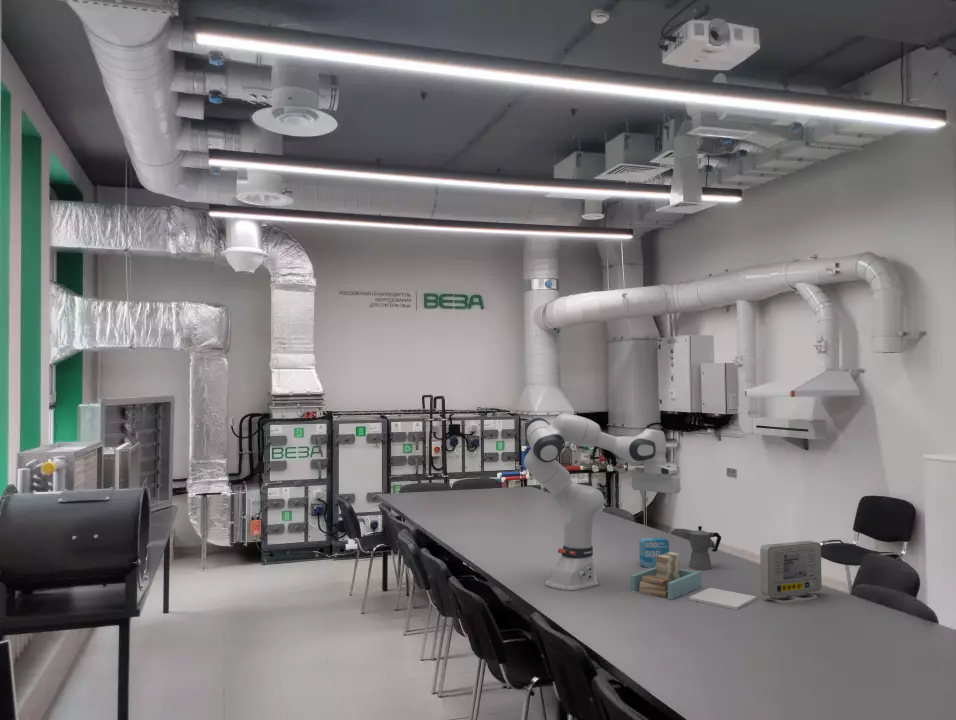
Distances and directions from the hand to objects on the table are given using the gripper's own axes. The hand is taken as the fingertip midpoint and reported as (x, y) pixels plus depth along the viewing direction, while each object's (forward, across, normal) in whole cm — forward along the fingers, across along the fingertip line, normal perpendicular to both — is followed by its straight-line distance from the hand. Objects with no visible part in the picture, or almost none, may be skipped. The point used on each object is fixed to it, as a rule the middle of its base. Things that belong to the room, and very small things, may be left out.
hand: (655, 503), depth 289 cm
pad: (+32, +29, -5) cm, 43 cm away
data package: (+32, -15, +25) cm, 44 cm away
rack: (+32, +7, -6) cm, 33 cm away
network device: (+33, +47, +15) cm, 59 cm away
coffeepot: (+33, +2, +37) cm, 49 cm away
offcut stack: (+32, +7, -14) cm, 35 cm away
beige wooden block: (+32, +7, -4) cm, 33 cm away
